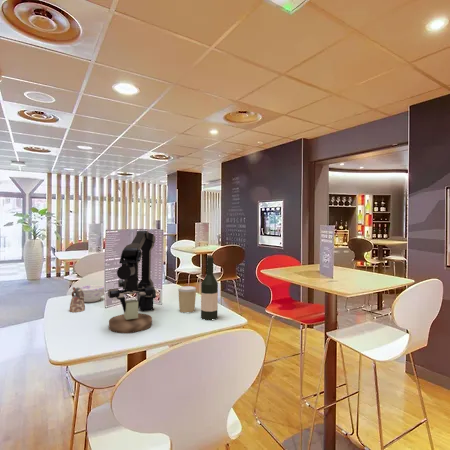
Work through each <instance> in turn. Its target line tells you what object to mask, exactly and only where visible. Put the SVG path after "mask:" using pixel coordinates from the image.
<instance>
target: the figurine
mask: <svg viewBox="0 0 450 450" xmlns="http://www.w3.org/2000/svg"><path fill="white" fill-rule="evenodd" d="M80 287H81V286H78V287H75V286H73V287H72V290H73V291H72V292H71V300H70V303H69V312H70V313H80V312H84V311H85V310H86V305H85V304H86V303H85V302H84V298H83V297H84V293H83V291H82V289H81V288H80Z"/></svg>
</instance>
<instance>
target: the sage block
mask: <svg viewBox="0 0 450 450" xmlns="http://www.w3.org/2000/svg"><path fill="white" fill-rule="evenodd" d="M125 307H126V310H125V312H124V311H123V314H124V317H125V319H126V320H128V319H135V318H138V313H139V309H138V301H137V299H128V300H125Z"/></svg>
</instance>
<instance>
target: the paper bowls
mask: <svg viewBox="0 0 450 450" xmlns="http://www.w3.org/2000/svg"><path fill="white" fill-rule="evenodd" d="M79 287H80V288H81V289H82V291H83V293H84V297H83V298H84V303H95V302H99V301H100V300H101V298H102V297H103V296H105V294H104V291H105V290H104V287H105V285H101V284H93V285H90V284H89V285H82V286H79Z"/></svg>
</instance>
